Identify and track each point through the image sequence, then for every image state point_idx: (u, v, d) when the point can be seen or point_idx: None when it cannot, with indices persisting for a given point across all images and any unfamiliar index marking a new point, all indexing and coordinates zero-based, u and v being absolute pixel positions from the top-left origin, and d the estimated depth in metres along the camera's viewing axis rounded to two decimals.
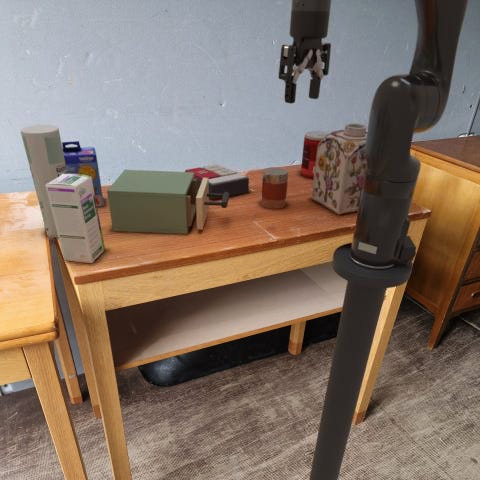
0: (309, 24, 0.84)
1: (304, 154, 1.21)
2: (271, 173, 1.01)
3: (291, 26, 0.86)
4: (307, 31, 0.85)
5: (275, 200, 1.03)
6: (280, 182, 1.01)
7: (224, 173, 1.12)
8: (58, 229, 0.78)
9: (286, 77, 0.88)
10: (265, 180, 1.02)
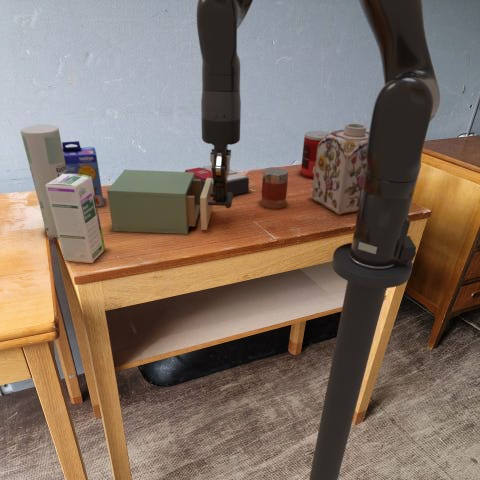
0: (231, 132, 0.83)
1: (304, 154, 1.21)
2: (271, 173, 1.01)
3: (209, 135, 0.84)
4: (230, 139, 0.84)
5: (275, 200, 1.03)
6: (280, 182, 1.01)
7: None
8: (58, 229, 0.78)
9: (223, 184, 0.89)
10: (265, 180, 1.02)
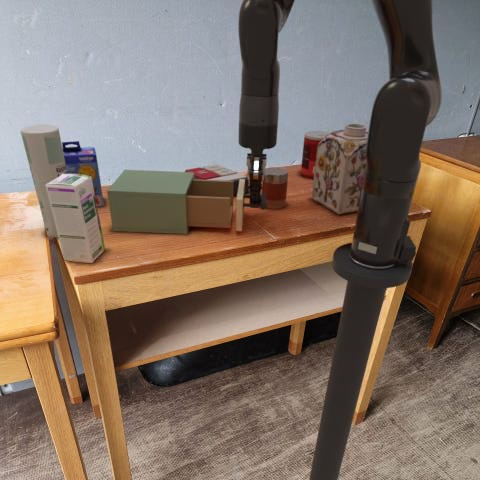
0: (269, 136, 0.84)
1: (304, 154, 1.21)
2: (271, 173, 1.01)
3: (247, 139, 0.84)
4: (267, 143, 0.84)
5: (275, 200, 1.03)
6: (280, 182, 1.01)
7: (224, 173, 1.12)
8: (58, 229, 0.78)
9: (258, 189, 0.89)
10: (265, 180, 1.02)
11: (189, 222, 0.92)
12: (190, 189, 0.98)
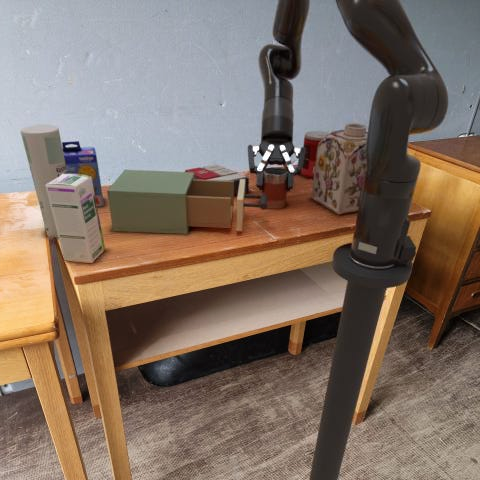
0: (265, 126, 1.03)
1: None
2: (270, 173, 1.01)
3: None
4: (264, 132, 1.03)
5: (275, 200, 1.03)
6: (280, 182, 1.01)
7: (224, 173, 1.12)
8: (58, 229, 0.78)
9: (250, 167, 1.03)
10: (265, 180, 1.02)
11: (189, 222, 0.92)
12: (190, 189, 0.98)
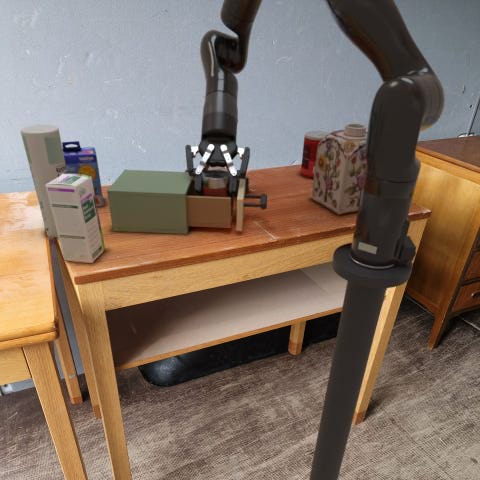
0: (204, 124, 0.92)
1: (304, 154, 1.21)
2: (209, 176, 0.90)
3: None
4: (203, 130, 0.92)
5: None
6: (220, 186, 0.90)
7: None
8: (58, 229, 0.78)
9: (187, 169, 0.92)
10: (204, 184, 0.91)
11: (189, 222, 0.92)
12: (190, 189, 0.98)
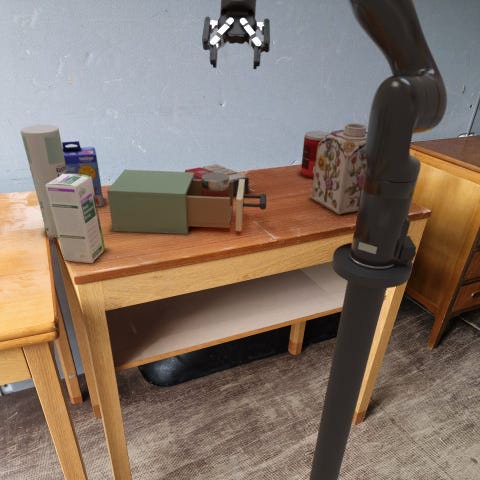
0: None
1: (304, 154, 1.21)
2: (209, 179, 0.90)
3: None
4: (222, 4, 0.93)
5: None
6: (220, 189, 0.90)
7: (224, 173, 1.12)
8: (58, 229, 0.78)
9: (202, 41, 0.93)
10: (203, 187, 0.91)
11: (189, 222, 0.92)
12: (190, 189, 0.98)
